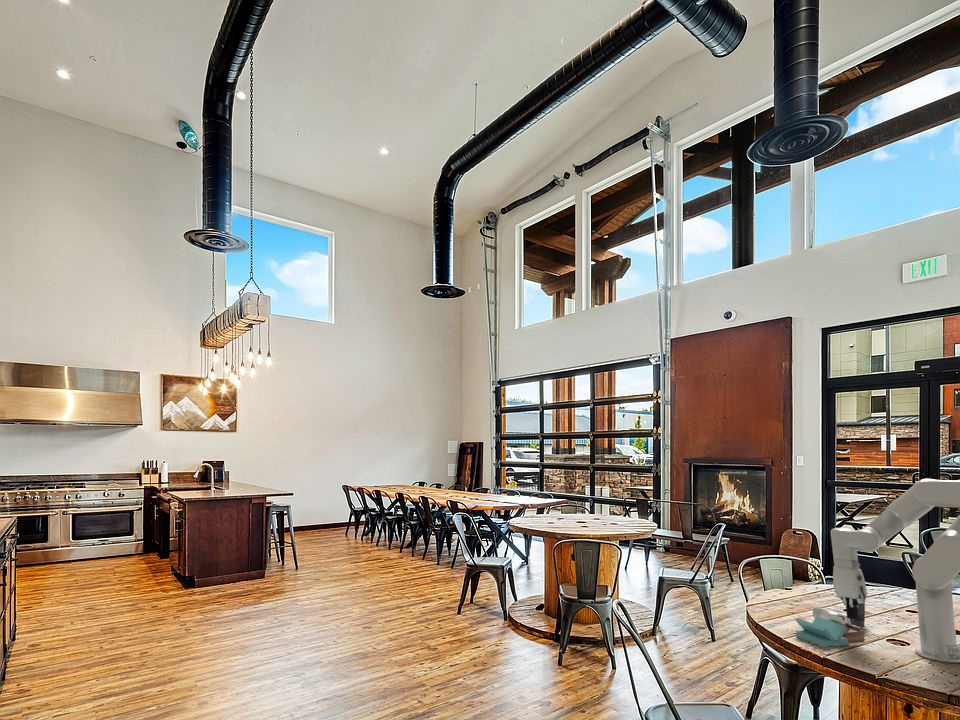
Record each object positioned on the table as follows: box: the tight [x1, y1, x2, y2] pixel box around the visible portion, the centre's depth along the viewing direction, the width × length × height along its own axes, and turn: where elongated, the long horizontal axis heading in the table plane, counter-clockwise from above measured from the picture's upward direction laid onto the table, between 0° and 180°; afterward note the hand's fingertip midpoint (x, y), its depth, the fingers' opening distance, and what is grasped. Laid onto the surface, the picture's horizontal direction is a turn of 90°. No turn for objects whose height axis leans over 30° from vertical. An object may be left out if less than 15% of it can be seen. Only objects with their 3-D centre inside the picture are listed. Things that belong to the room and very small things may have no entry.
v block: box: [795, 617, 850, 648], centre depth 208 cm, size 12×10×6 cm
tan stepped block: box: [842, 624, 865, 643], centre depth 213 cm, size 10×9×4 cm
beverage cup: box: [849, 598, 867, 627], centre depth 228 cm, size 7×7×20 cm
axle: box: [812, 606, 850, 628], centre depth 218 cm, size 12×4×4 cm, turn 18°
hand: (852, 618), depth 210 cm, fingers closed
